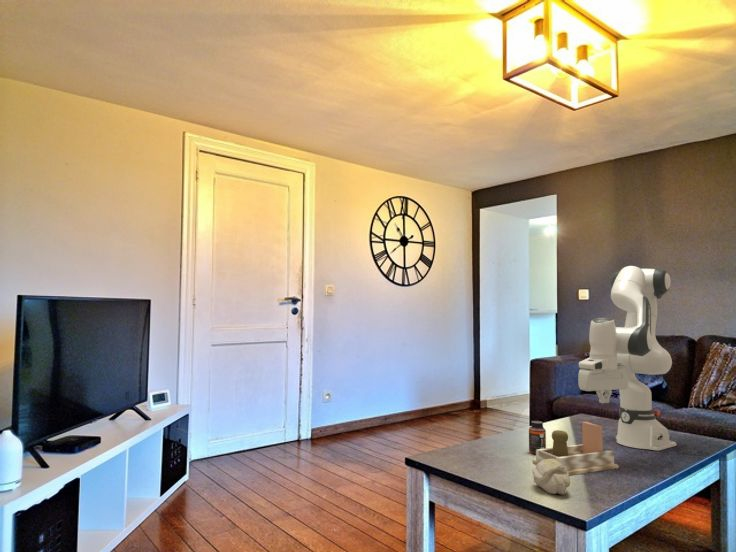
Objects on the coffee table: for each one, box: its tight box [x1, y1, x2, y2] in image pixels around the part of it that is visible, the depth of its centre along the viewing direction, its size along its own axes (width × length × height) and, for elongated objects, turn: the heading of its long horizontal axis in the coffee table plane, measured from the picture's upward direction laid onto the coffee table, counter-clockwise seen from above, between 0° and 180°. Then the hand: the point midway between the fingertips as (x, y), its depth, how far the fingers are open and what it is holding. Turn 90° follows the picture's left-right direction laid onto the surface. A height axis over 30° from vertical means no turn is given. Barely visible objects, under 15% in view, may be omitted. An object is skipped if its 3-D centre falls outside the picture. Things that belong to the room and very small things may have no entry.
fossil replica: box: [532, 459, 571, 495], centre depth 140 cm, size 12×8×10 cm
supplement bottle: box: [528, 420, 547, 455], centre depth 177 cm, size 6×6×11 cm
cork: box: [551, 429, 569, 457], centre depth 161 cm, size 6×6×11 cm
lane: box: [532, 443, 619, 476], centre depth 163 cm, size 24×14×5 cm, turn 112°
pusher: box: [581, 421, 604, 454], centre depth 166 cm, size 2×7×12 cm, turn 22°
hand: (604, 402), depth 169 cm, fingers closed
